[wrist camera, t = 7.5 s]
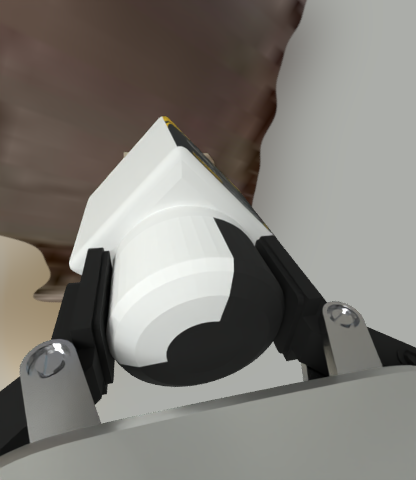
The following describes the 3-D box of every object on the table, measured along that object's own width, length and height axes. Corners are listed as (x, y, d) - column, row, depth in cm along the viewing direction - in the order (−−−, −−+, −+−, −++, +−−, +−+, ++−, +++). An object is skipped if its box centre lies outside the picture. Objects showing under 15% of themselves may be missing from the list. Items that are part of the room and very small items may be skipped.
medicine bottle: (238, 190, 19) (346, 323, 10) (170, 255, 21) (202, 424, 11) (162, 111, 16) (213, 203, 6) (86, 199, 17) (28, 380, 8)
